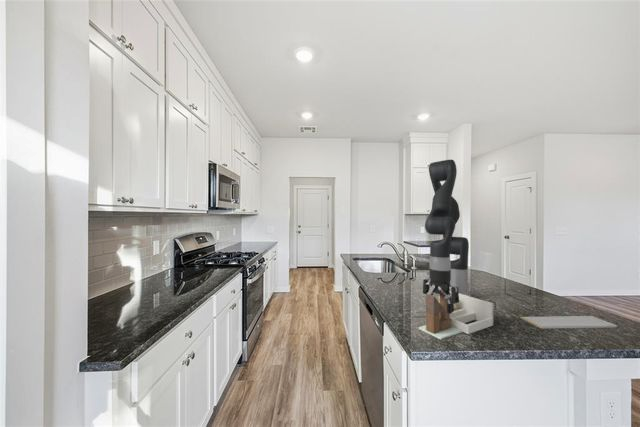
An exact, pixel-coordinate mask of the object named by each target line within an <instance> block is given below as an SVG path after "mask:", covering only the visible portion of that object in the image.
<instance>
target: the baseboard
mask: <svg viewBox="0 0 640 427" xmlns="http://www.w3.org/2000/svg"><path fill="white" fill-rule="evenodd" d="M589 314H591V315H589ZM599 317H600V318H599ZM519 318H520V319H522V320H524V321H525V322H528V323H529V324H532V325H534V326H535V327H538V328H539V329H542V330H543V329H594V328H595V329H599V328H601V329H602V328H603V329H605V328H607V329H609V328H610V329H611V328H618V325H617V324H618V323H617V322H613V323H612V322H610V321H609V322H608V319H606V318H605V317H604V316H602V315H597V316H595V315H594V316H593V315H592V313H590V312H588V313H586V315H575V316H574V315H570V316H569V315H567V316H565V315H564V316H563V315H562V316H561V315H560V316H559V315H557V316H555V315H554V316H550V315H549V316H520V317H519ZM601 318H603V319H604V320H603V319H601ZM614 323H615V324H614Z"/></svg>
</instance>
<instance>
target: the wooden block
mask: <svg viewBox="0 0 640 427" xmlns="http://www.w3.org/2000/svg"><path fill="white" fill-rule="evenodd" d="M449 291H450V290H449ZM439 295H440V294H439ZM446 295H448V294H446ZM439 313H440V314H439ZM451 320H452V319H451V318H450V314H448V313H447V301H446V299H445V298H444V297H443V295H440V303H439V300H438V299H437V298H436V297H435V295H433V296H432V295H429V294H425V325H426V330H427V331H429V332H431V333H437V332H439V331H440V330H445V329H448V328H451Z"/></svg>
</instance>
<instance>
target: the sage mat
mask: <svg viewBox="0 0 640 427" xmlns="http://www.w3.org/2000/svg"><path fill="white" fill-rule="evenodd" d="M418 329H419V330H420V331H423V332H424V333H426V334H429V335H431V336H433V337H435V338H436V339H439V340H444V339H446V338H450V337H453V336H455V335H459V334H463V332H462V331H461V330H458V329H456V328H454V327H451V328H448V329H445V330H440V331H439V332H437V333H431V332H429V331H427V330H426V324H425V325H422V326H418Z"/></svg>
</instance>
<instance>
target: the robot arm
mask: <svg viewBox="0 0 640 427" xmlns="http://www.w3.org/2000/svg"><path fill="white" fill-rule="evenodd" d="M428 174H429V178H430V181H431V185H432V188H433V191H434V195H433V197H432V200H431V201H432V202H431V203H432V204H431V210H430V212H429V214H428V216H427V218H426V220H425V223H424V229H425V231H426V233H427V234H429V235H437V236H439V235H441V236H442V238H441V239H439V240H438V239H435V240H432V241H431V242H430V244H429V248H430V249H429V263H428V264H429V266H428V267H429V268H428V269H429V278H425V279H423V280H422V282H423V283H422V293H423V294H424V295H426V294H429V295H432V296H435V294H437V295H443V297H444V298H445V299H446V301H447V313H448V314H451V313H452V312H453V311H454V304H455V303H459V293H460V294H463V295H467V296H470V295H469V293H470V292H469V288H470V286H469V282H468V281H469V279H468V278H469V273H468V272H469V270H468V269H469V266H468V265H469V250H470V249H469V248H470V247H469V245H470V244H469V239H468V238H467V237H462V236H454V232H455V229H456V224H457V223H458V222H459V220H460V217H461V216H460V215H461V214H460V208H459V207H460V206H459V203H458V201H457V200H456V199H455V198H454V196H453V191H454V188H455V185H456V184H455V183H456V179H457V174H458V172H457V165H456V162H455V160H454V159H445V160H439V161H433V162H431V163H429V165H428ZM441 182H444V183H441ZM451 255H455V256H456V255H457V256H459V258H457V259H454V260H451ZM449 290H450V291H449ZM450 292H451V293H450ZM446 294H448V295H446Z"/></svg>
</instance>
